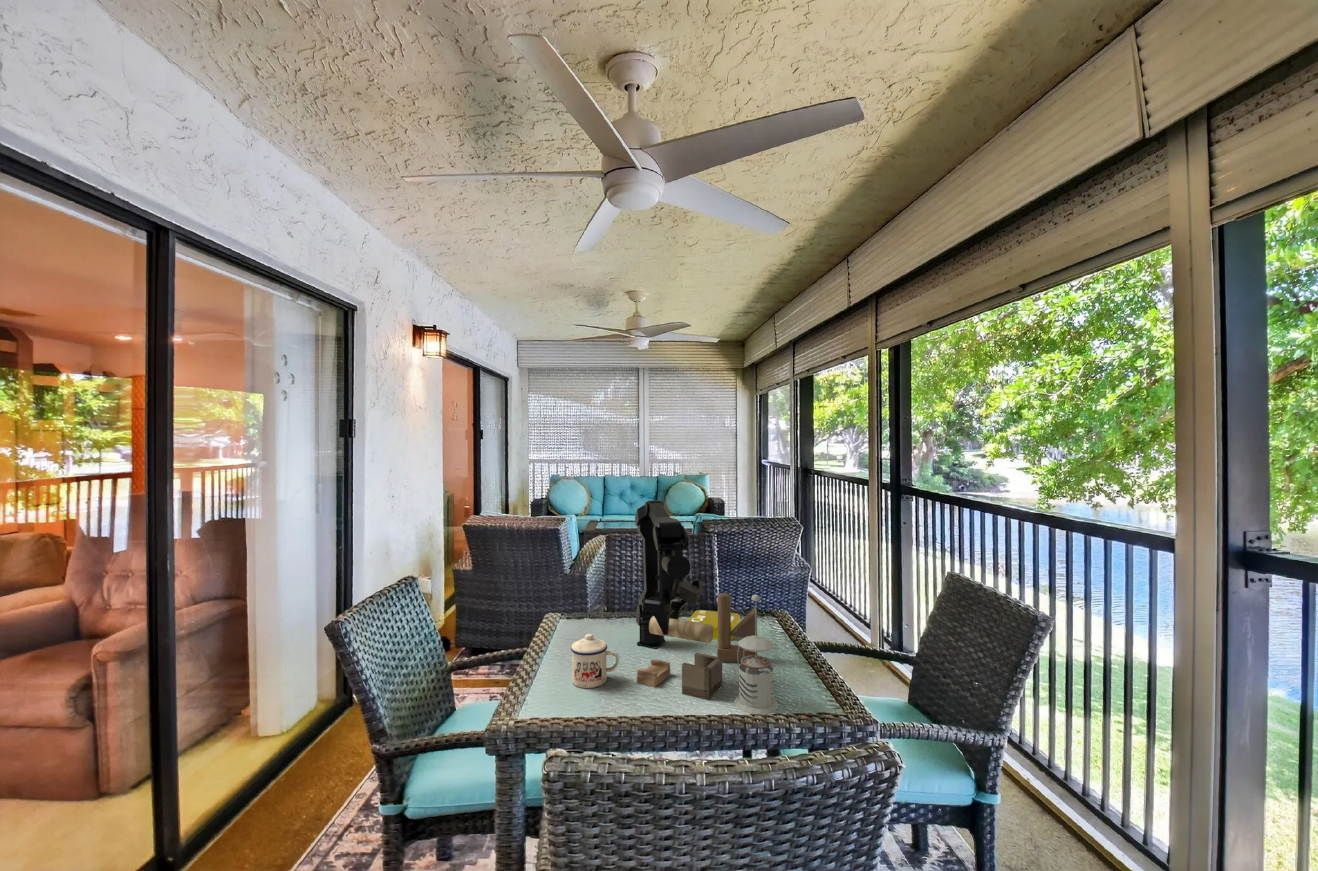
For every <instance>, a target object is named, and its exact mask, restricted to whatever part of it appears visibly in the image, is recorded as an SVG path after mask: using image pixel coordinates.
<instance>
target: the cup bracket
mask: <svg viewBox="0 0 1318 871" xmlns="http://www.w3.org/2000/svg"><path fill="white" fill-rule="evenodd" d="M693 655H694V656H693V658H694V664H692V663H688V662H687V663H686V662H683V663H682V664H681V694H682V695H685V696H689V697H695V698H697V699H698V698H699V699H702V700H707V701H710V700H711V699H712V698H713V696H715V695H716V693H717V692H719V690H720V689H721V688H722V687H723V686H724V685H723V680H724V679H723V662H722V657H717V655H710V654H707V653H706V654H705V653H701V652H695V653H694V654H693Z"/></svg>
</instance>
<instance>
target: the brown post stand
mask: <svg viewBox="0 0 1318 871" xmlns="http://www.w3.org/2000/svg"><path fill="white" fill-rule="evenodd" d="M731 602H732V596H731V594H729V593H727V592H726V593H725V592H722V593H719V594H717V612H718V640H717V646H716V656H717V657H722V663H738V661H737V652H738V648H739V645H737V644H732V640H731V636H735V637H742V639H743V638H745V637H747V636H753V635H755V607H754V608H753V609H752V610H751V611H750V612H749V613H747V615H746V616H745V617H744V618H742V620H740V623H739V624H738V625H737V626H736V627H735V628H734V629H733V630H732V631H731V613H732V608H731V607H732V605H731ZM756 636H758V611H757V609H756ZM743 650H744V649H743V648H741V647H740V648H739V652H738V660H739V663H741V662H740V660H741V659H742V658H743ZM750 655H752V656H753V655H755V652H752V651H748V650H747V651H745V650H744V657H745V656H750ZM756 656H758V652H756Z"/></svg>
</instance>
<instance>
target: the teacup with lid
mask: <svg viewBox="0 0 1318 871" xmlns="http://www.w3.org/2000/svg"><path fill="white" fill-rule="evenodd" d="M570 650H571V681H572V684H573V685H574V686H576V687H577V688H580V689H581V688H582V689H592V688H598V687H600V686H602V685H604V684H605V683H606V682H607V673H608V672H609V673H610V672H613V671H615V669H616V668H617V667H618V665H619V661H620V657H619V654H618V653H617V652H615V651H612V650H608V644H607V643H606V641H605V640H602V639H599V638H596V637H594V635H593V633H592V634H591V633H587V634H585V636H584V638H582V639H579V640H577V641H575V642H573V643H572V645H571V647H570ZM607 650H608V651H607ZM607 656H613V657H615V660H616V661H615V663H614V665H613V666H611V667H607Z"/></svg>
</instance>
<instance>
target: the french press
mask: <svg viewBox="0 0 1318 871" xmlns="http://www.w3.org/2000/svg"><path fill="white" fill-rule="evenodd" d="M751 601H754V605H755V606H754V608H755V635H753V636H747V637H745V638H743V637H742V638H741V639H740V640H738V643H737V644H738V646H739V648H740V647H741V648H743V649H744V650H745V651H747V650H748V651H752V652H755V655H753V656H752V655H750V656H745V657H744V650H743V658H742V659H741V660H740V662H739V660H738V652H739V648H738V652H737V661H738V662H737V664H738V673H739V674H738V679H739V681H738V684H739V688H738V690H739V691H738V696H737V697H736V699H735V700H734V704H735V706H736V707H737V708H738V709H739V710H742V712H745V713H749V714H757V715H761V714H763V715H764V714H769V713H772V712H775V711H776V709H778V706H779V703H778V702H777V701H776V700H775V698H774V667H773V666H772V663H773V662H772V660H771V659H770V658H768V657H766V656H762V655H757V656H756V652H757V653H765V652H768V651H771V650H772V649H774V647H775V645H774V644H775V643H773V642H772V641H771V640H770V639H768V638H766V637H763V636H761V635H757V636H756V610H757V602H759V601H761V599H760V596H759V595H758V594H753V595H752V596H751ZM766 669H768V670H769V671H768V670H766Z"/></svg>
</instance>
